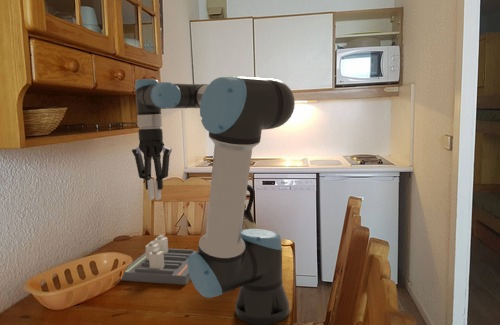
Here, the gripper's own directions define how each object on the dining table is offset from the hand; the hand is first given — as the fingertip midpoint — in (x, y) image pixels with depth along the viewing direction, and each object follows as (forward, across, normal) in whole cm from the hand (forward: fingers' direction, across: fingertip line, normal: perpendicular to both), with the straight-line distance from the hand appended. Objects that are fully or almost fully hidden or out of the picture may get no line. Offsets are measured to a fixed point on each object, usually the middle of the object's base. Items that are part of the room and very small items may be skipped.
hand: (155, 199), depth 122 cm
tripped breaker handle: (+25, +2, -2) cm, 25 cm away
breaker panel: (+28, +2, -9) cm, 30 cm away
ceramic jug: (+29, -24, -21) cm, 43 cm away
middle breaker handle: (+25, +7, -9) cm, 28 cm away
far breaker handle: (+25, +7, -16) cm, 31 cm away
